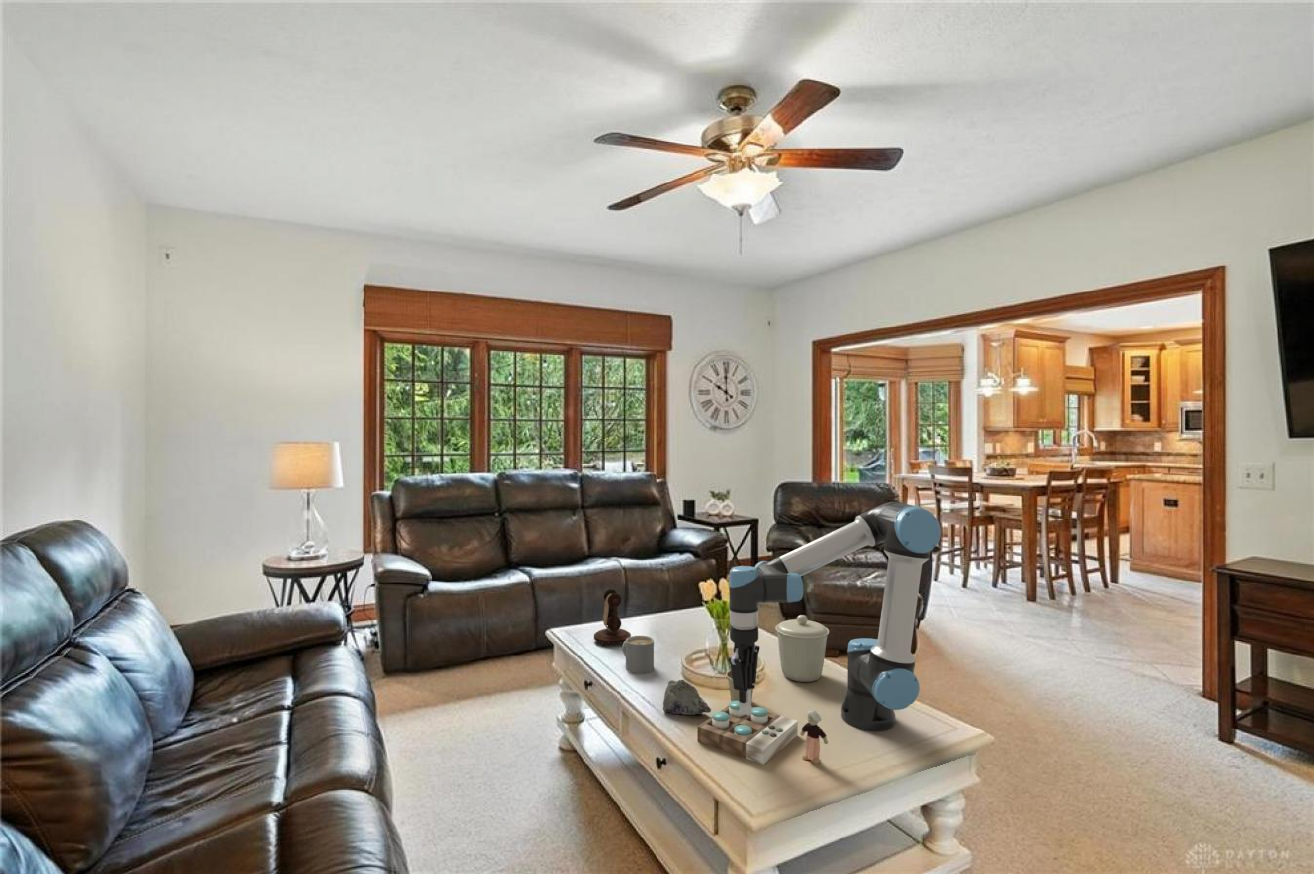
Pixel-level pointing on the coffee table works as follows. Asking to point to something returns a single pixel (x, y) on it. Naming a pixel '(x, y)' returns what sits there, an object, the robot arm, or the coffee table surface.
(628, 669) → the coffee mug
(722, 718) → the button
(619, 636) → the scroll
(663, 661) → the coffee table surface
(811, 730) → the grandmother figurine
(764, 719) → the button
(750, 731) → the button
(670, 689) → the mineral rock
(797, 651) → the canister
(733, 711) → the button
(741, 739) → the button board
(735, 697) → the flower pot
